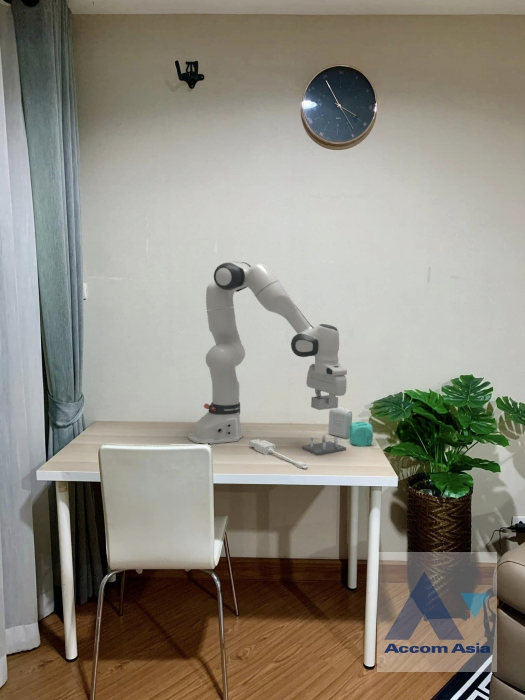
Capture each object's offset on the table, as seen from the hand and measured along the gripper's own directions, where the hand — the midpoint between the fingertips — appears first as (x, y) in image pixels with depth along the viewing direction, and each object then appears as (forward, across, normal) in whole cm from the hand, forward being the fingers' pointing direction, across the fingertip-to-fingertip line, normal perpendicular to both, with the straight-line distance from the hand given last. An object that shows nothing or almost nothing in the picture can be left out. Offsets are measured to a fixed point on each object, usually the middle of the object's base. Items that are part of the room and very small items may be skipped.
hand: (324, 402), depth 233 cm
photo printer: (+19, -12, +18) cm, 29 cm away
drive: (+2, 0, 0) cm, 2 cm away
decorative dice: (+18, +1, +18) cm, 26 cm away
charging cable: (+19, -1, -20) cm, 28 cm away
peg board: (+18, 0, 0) cm, 18 cm away
